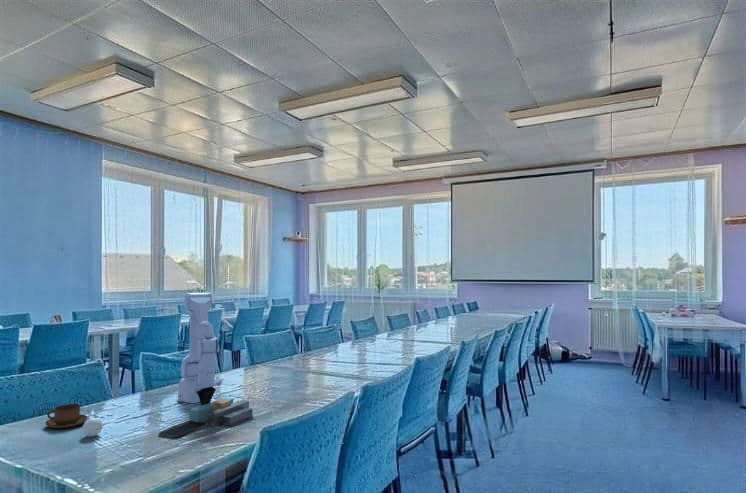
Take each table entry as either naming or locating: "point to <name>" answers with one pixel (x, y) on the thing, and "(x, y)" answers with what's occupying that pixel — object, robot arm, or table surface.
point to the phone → (182, 429)
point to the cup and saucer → (66, 416)
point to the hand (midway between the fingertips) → (205, 408)
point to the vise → (230, 414)
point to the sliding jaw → (203, 411)
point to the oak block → (220, 404)
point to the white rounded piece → (92, 427)
